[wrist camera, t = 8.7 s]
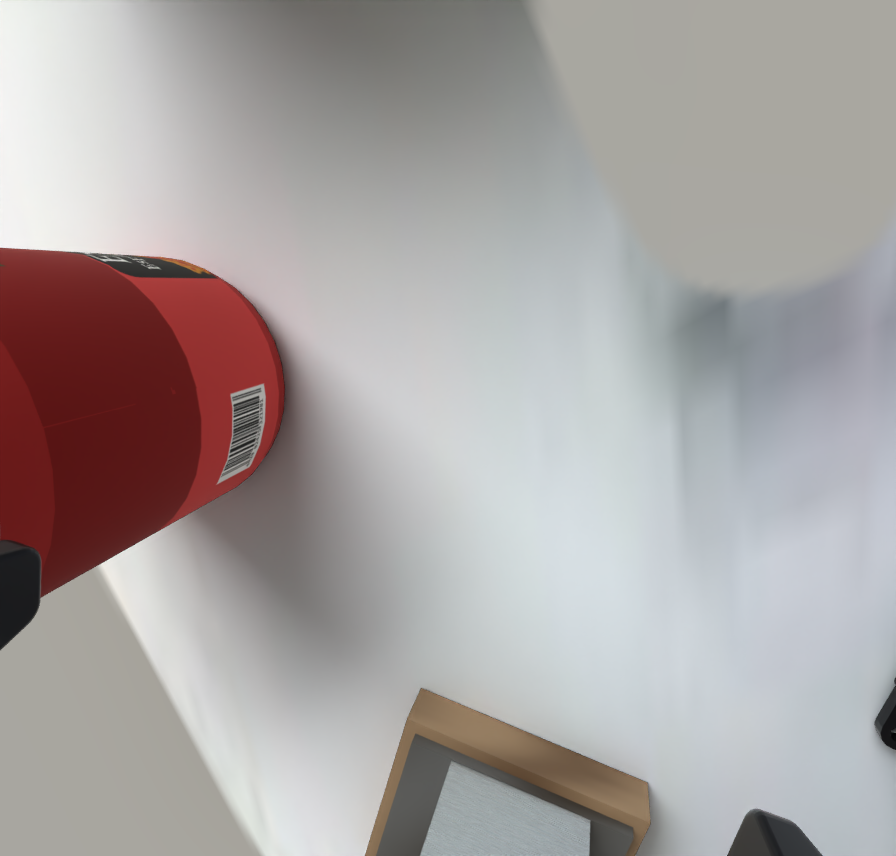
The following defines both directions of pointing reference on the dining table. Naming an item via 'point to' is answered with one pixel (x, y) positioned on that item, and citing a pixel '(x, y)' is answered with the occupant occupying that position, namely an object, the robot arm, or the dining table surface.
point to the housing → (500, 821)
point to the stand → (501, 779)
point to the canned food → (123, 400)
